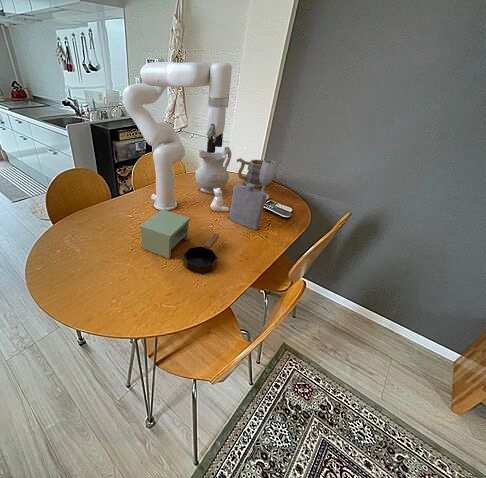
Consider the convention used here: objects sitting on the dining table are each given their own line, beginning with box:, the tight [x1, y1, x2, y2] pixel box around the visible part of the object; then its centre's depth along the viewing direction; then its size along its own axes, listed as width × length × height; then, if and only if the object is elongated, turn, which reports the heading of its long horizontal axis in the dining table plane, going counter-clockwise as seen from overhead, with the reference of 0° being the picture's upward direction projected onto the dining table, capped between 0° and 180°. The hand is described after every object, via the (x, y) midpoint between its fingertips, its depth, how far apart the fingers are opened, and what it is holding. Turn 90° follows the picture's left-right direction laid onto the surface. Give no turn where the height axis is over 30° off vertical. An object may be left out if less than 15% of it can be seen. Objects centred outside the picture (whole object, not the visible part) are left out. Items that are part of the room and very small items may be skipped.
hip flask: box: [228, 183, 268, 231], centre depth 119 cm, size 16×4×20 cm, turn 47°
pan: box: [182, 233, 220, 274], centre depth 102 cm, size 12×22×5 cm, turn 150°
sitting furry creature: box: [210, 188, 230, 213], centre depth 133 cm, size 10×9×12 cm
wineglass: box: [259, 159, 276, 201], centre depth 143 cm, size 9×9×21 cm
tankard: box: [235, 157, 264, 189], centre depth 163 cm, size 20×13×15 cm, turn 66°
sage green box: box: [139, 210, 191, 259], centre depth 107 cm, size 14×16×11 cm
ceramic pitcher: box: [195, 146, 232, 195], centre depth 151 cm, size 22×20×25 cm
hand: (214, 149), depth 106 cm, fingers open, 9 cm apart
